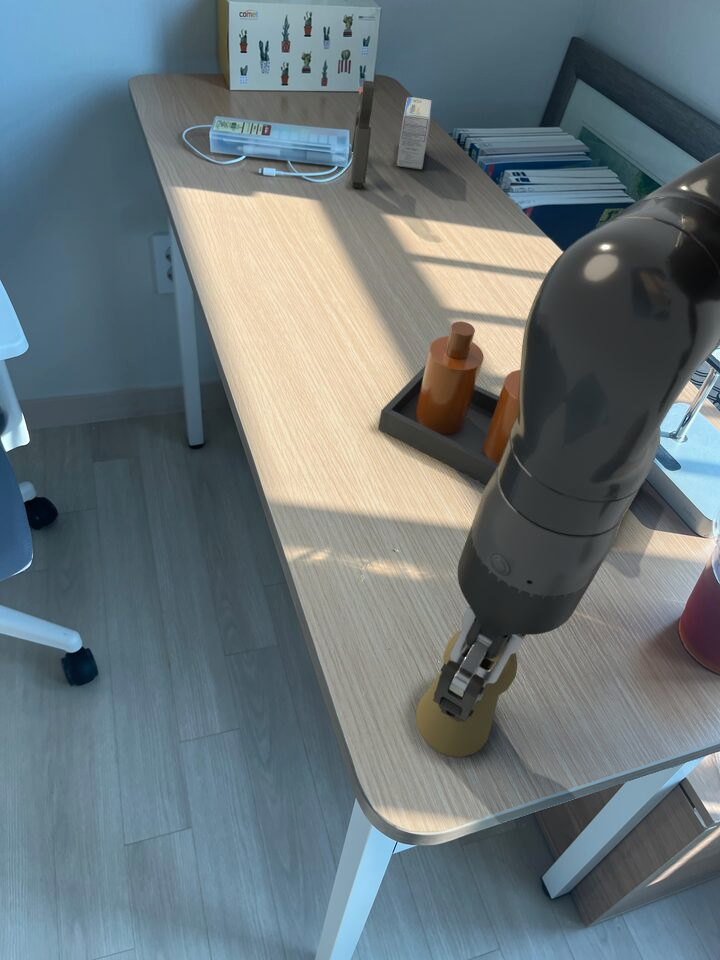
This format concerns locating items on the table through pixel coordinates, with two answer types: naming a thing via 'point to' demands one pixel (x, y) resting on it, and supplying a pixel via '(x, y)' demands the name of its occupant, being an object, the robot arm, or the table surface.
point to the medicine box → (414, 133)
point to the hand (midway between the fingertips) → (471, 680)
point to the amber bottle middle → (503, 417)
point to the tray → (450, 449)
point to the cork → (476, 728)
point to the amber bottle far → (449, 380)
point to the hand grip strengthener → (362, 135)
